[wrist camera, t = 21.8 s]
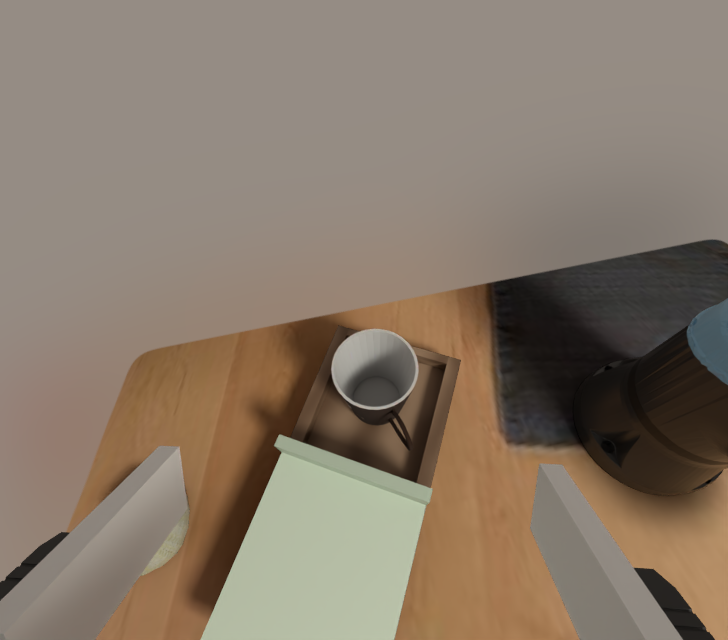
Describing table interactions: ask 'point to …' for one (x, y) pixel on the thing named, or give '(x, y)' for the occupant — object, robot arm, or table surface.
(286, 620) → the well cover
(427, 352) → the brown wooden shallow box
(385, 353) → the coffee mug
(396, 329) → the table surface
